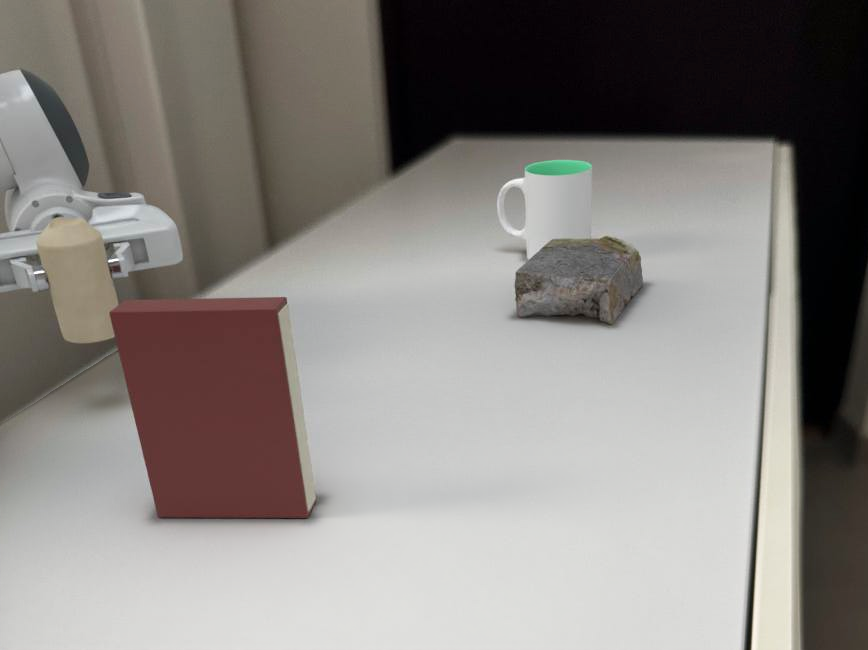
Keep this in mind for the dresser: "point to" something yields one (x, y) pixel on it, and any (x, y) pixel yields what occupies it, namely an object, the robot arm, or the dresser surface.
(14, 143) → the robot arm
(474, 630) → the dresser surface
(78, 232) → the candle
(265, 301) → the book
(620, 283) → the geological specimen
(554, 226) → the mug
